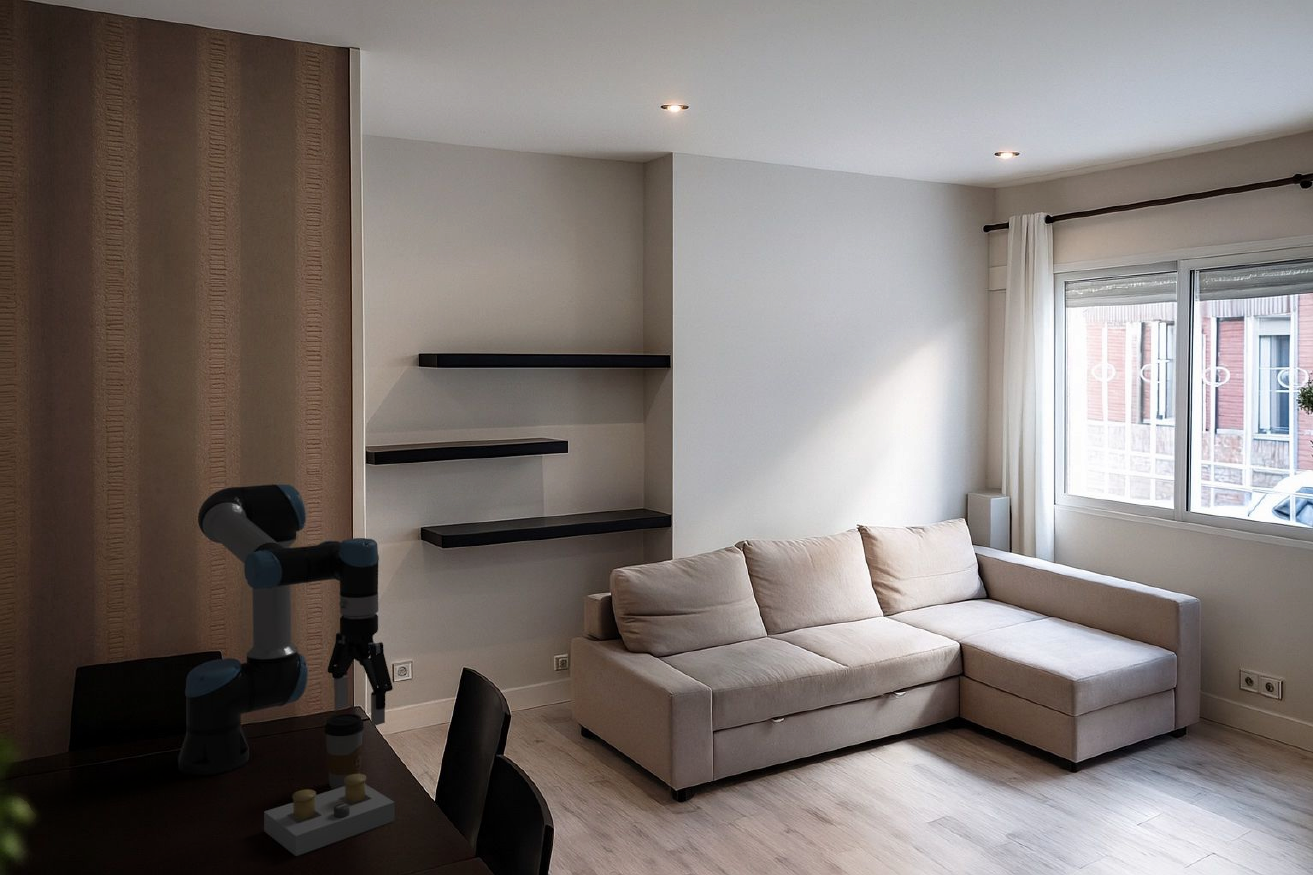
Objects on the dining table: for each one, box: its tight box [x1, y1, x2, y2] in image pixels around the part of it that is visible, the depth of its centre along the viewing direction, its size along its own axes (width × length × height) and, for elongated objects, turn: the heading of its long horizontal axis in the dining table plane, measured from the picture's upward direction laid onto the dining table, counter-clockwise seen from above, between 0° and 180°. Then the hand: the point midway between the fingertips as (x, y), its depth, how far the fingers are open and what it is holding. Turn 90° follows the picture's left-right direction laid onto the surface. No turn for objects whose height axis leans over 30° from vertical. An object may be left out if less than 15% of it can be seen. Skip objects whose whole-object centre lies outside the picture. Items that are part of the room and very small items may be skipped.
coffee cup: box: [324, 713, 364, 790], centre depth 211 cm, size 8×8×15 cm
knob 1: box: [291, 789, 317, 819], centre depth 188 cm, size 4×4×4 cm
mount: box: [263, 783, 395, 857], centre depth 192 cm, size 14×21×6 cm, turn 136°
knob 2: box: [344, 773, 367, 801], centre depth 196 cm, size 4×4×4 cm
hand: (359, 716), depth 195 cm, fingers open, 13 cm apart
